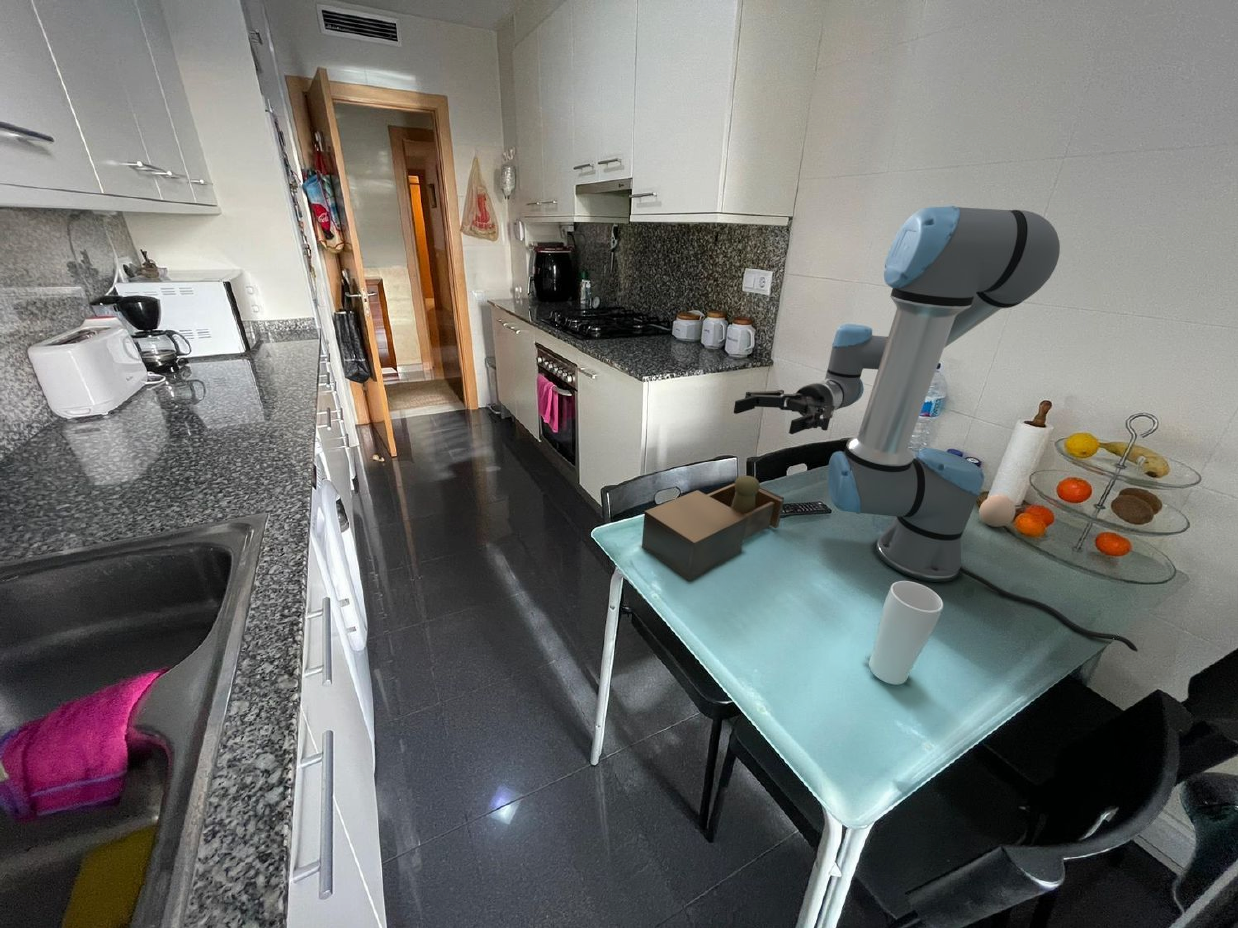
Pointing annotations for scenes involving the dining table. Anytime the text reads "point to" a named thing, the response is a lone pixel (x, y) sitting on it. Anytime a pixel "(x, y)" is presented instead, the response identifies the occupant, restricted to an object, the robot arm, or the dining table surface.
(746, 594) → the dining table surface
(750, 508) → the olive pawn figure
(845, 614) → the dining table surface
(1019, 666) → the dining table surface
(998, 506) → the egg
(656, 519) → the cabinet
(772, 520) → the drawer
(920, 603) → the drinking glass
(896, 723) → the dining table surface
